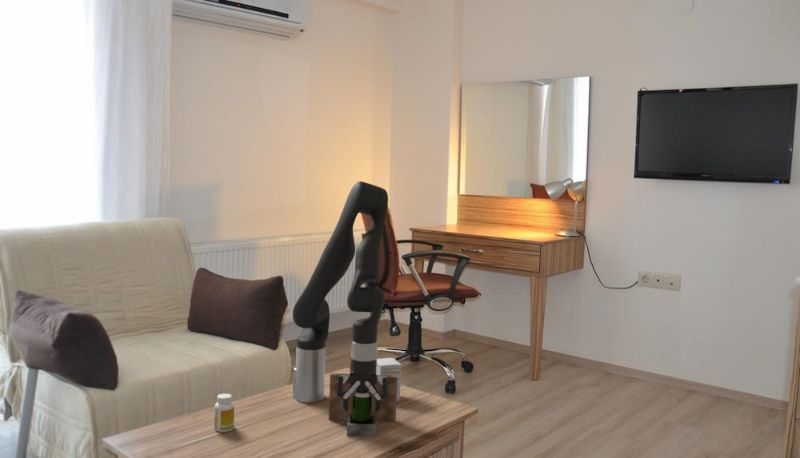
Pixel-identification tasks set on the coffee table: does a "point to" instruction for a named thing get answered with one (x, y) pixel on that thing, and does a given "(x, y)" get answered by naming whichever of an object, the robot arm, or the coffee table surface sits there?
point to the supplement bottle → (224, 413)
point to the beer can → (361, 407)
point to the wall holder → (386, 406)
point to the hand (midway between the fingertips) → (361, 410)
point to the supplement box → (390, 370)
